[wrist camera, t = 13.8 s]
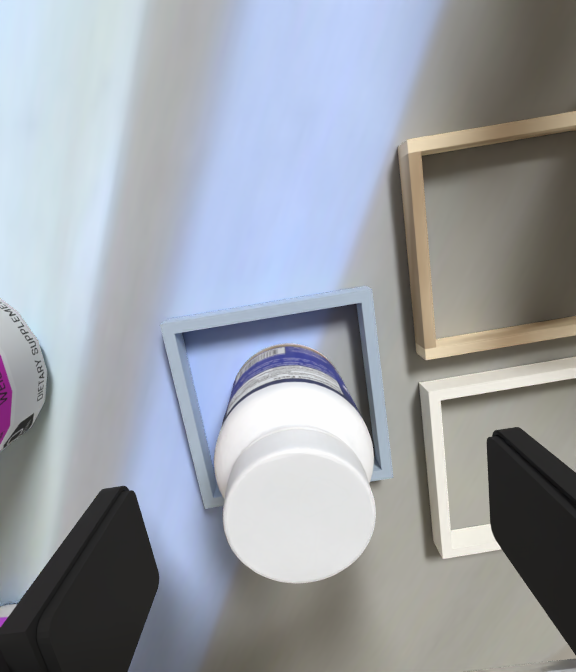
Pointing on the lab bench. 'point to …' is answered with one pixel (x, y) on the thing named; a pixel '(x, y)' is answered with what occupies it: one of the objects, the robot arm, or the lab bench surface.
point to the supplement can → (19, 376)
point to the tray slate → (262, 311)
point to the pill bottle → (294, 467)
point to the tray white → (431, 396)
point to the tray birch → (418, 238)
